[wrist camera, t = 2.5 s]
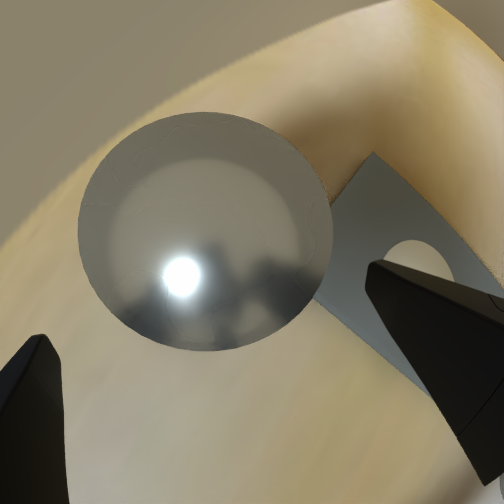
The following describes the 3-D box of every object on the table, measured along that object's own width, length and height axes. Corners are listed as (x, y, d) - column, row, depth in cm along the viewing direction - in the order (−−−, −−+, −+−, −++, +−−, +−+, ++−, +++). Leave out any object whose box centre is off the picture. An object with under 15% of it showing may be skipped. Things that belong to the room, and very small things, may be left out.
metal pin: (256, 302, 17) (372, 210, 6) (204, 364, 15) (222, 409, 4) (196, 250, 17) (202, 82, 6) (142, 309, 16) (34, 223, 4)
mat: (512, 318, 20) (522, 316, 19) (468, 430, 16) (480, 431, 15) (365, 160, 21) (373, 150, 20) (279, 269, 18) (285, 263, 16)
